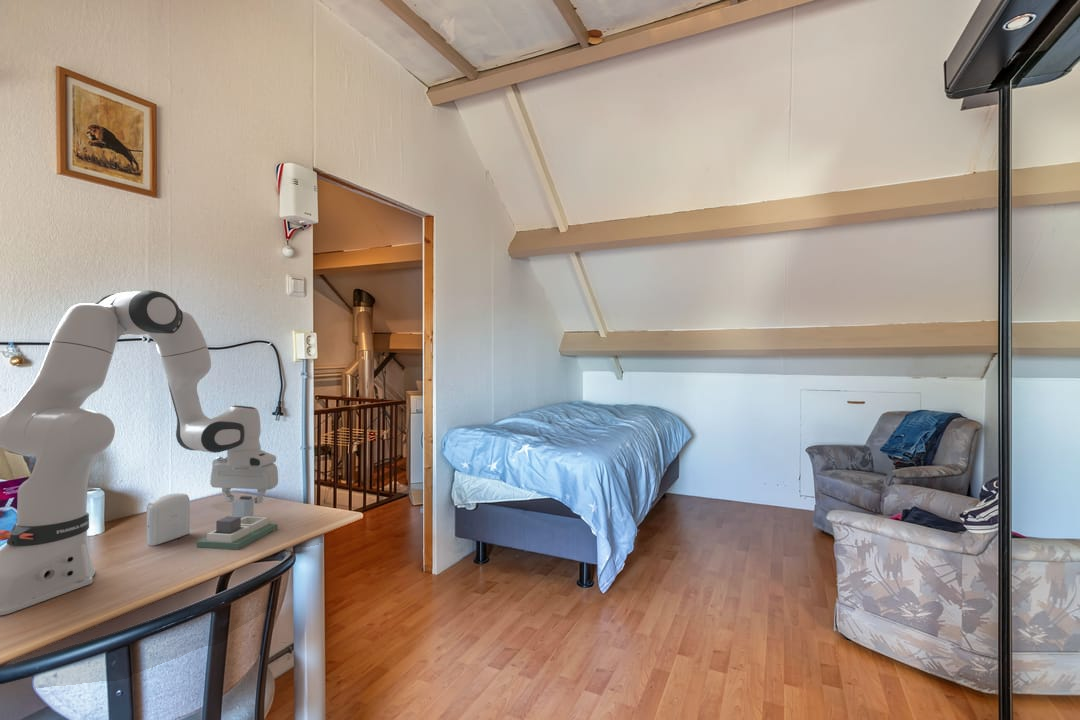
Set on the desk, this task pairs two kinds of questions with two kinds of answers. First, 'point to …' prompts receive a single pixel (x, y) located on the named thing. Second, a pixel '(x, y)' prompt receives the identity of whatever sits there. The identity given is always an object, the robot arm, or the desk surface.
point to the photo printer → (168, 518)
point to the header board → (236, 532)
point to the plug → (243, 507)
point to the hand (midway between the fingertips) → (244, 502)
